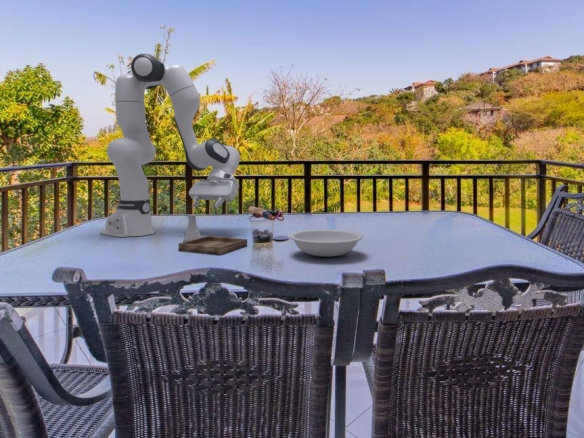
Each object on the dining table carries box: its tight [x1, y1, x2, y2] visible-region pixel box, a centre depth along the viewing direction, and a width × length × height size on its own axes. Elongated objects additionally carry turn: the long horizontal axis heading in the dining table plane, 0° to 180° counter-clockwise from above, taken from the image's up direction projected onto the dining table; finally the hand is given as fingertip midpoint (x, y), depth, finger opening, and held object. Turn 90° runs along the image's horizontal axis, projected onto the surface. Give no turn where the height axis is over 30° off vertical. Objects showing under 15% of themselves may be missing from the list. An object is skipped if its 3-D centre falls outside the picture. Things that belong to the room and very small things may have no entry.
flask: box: [182, 214, 202, 243], centre depth 183 cm, size 7×7×10 cm
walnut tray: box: [178, 235, 248, 256], centre depth 169 cm, size 17×17×2 cm
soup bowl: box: [288, 229, 364, 258], centre depth 157 cm, size 24×24×7 cm
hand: (205, 206), depth 189 cm, fingers open, 8 cm apart
